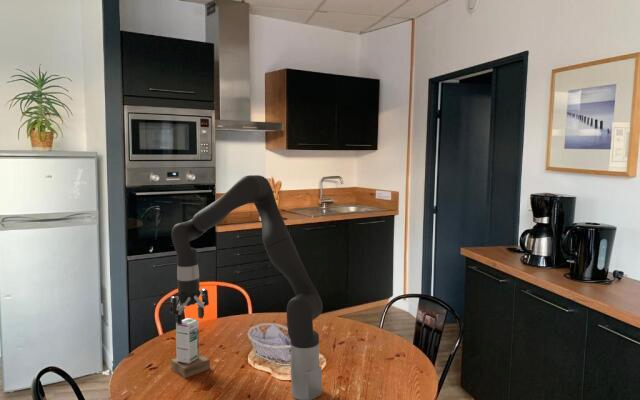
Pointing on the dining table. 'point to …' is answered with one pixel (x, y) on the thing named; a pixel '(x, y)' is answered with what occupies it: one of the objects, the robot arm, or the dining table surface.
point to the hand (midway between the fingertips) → (190, 321)
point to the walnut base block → (190, 366)
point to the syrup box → (187, 340)
